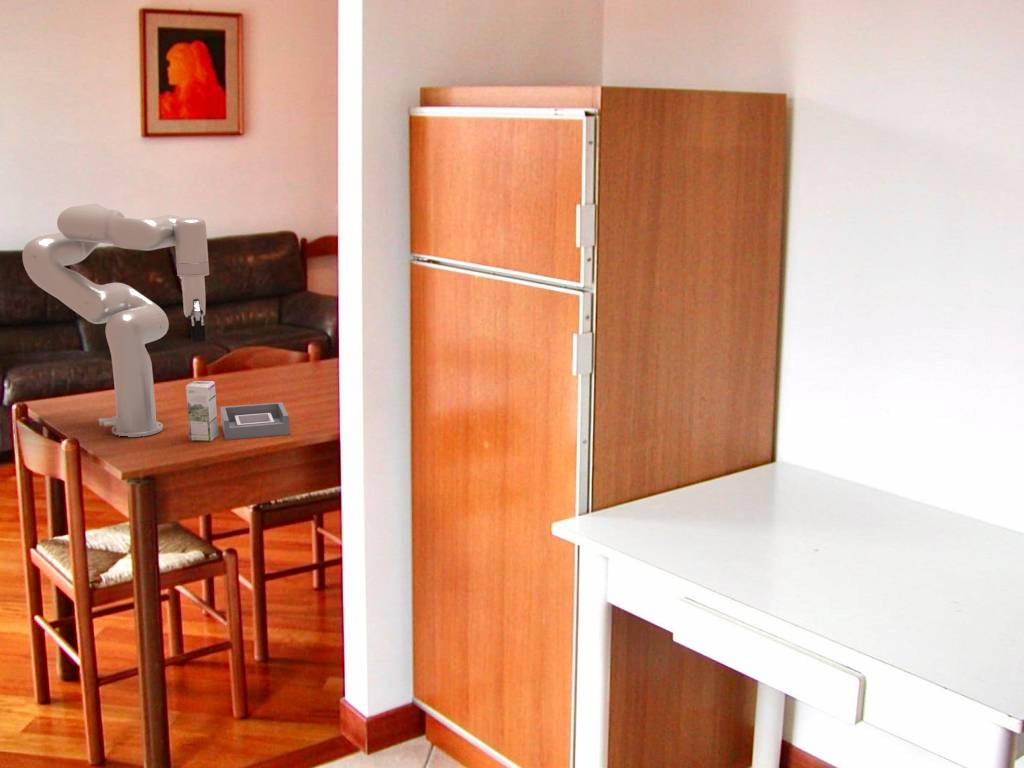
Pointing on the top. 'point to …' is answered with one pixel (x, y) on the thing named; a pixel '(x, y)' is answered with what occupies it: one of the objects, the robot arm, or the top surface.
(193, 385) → the syrup box
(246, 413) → the walled box
